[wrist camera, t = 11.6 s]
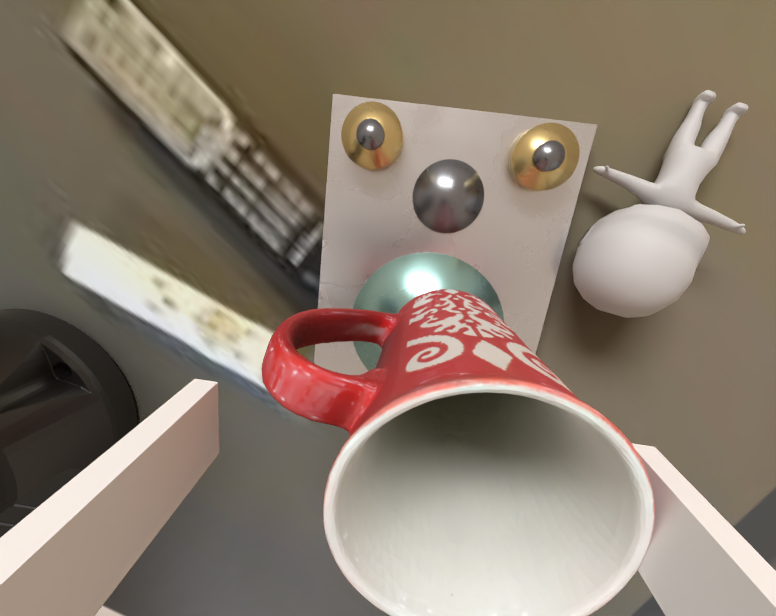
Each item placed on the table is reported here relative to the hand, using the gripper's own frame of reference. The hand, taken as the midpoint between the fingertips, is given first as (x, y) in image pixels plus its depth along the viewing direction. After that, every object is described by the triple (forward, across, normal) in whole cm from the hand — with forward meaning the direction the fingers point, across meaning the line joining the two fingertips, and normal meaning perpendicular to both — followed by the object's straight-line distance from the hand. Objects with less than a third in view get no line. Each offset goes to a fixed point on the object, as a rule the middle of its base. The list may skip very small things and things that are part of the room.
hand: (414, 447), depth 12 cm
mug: (+12, +1, 0) cm, 12 cm away
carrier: (+13, +1, +3) cm, 13 cm away
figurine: (+12, +14, +14) cm, 23 cm away
